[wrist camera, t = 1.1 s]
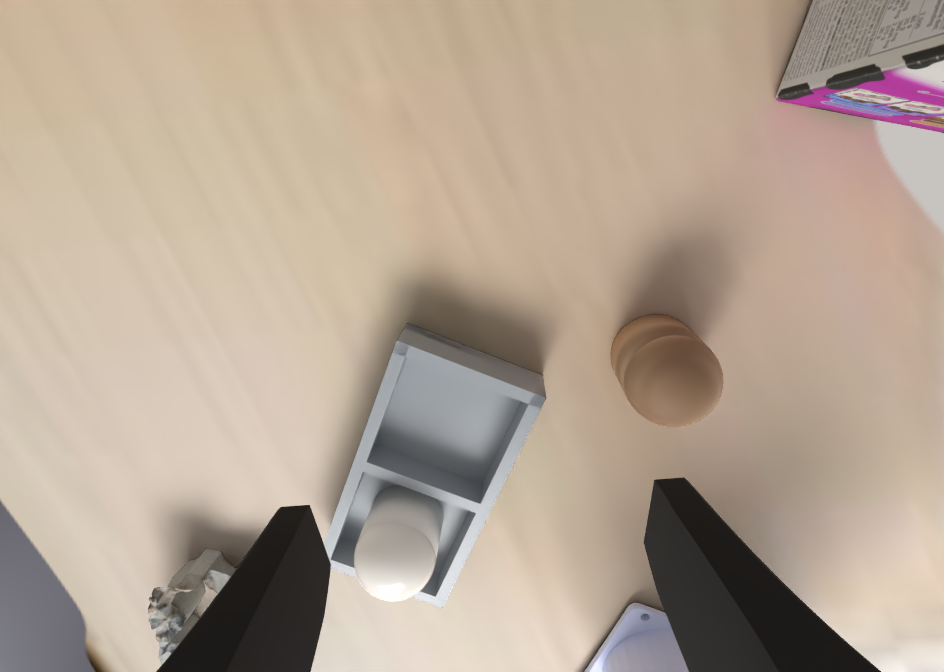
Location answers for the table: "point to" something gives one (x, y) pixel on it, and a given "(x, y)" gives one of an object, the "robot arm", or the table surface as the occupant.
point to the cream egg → (398, 543)
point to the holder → (438, 445)
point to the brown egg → (666, 370)
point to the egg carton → (185, 598)
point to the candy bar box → (871, 61)
